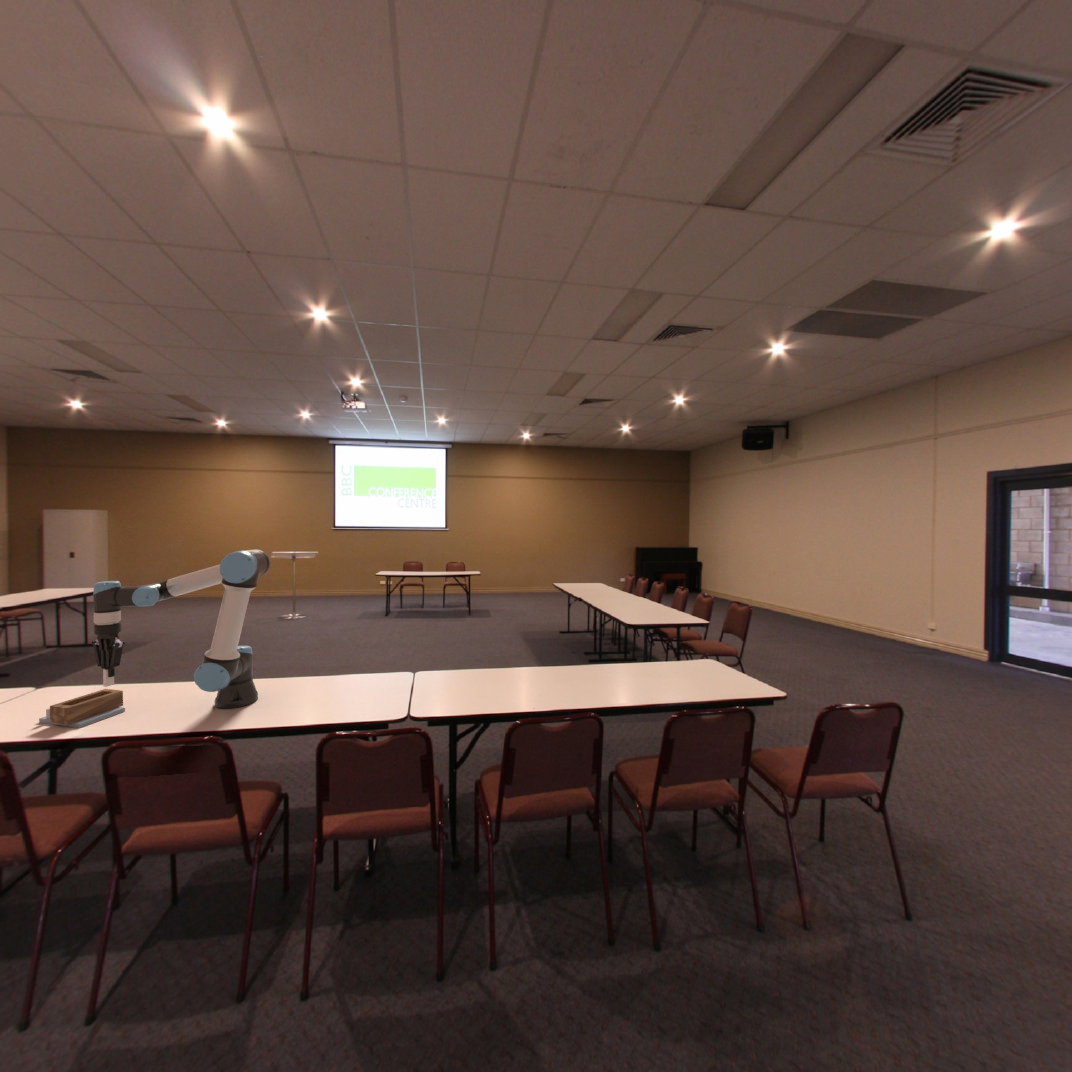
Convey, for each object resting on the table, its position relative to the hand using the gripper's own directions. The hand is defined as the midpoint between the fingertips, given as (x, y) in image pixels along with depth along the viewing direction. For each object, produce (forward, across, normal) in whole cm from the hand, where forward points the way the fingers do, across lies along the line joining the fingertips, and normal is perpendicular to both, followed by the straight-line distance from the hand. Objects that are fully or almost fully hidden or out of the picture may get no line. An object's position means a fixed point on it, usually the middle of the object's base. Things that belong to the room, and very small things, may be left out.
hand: (108, 685), depth 175 cm
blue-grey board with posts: (+13, +13, 0) cm, 19 cm away
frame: (+12, +11, 0) cm, 16 cm away
